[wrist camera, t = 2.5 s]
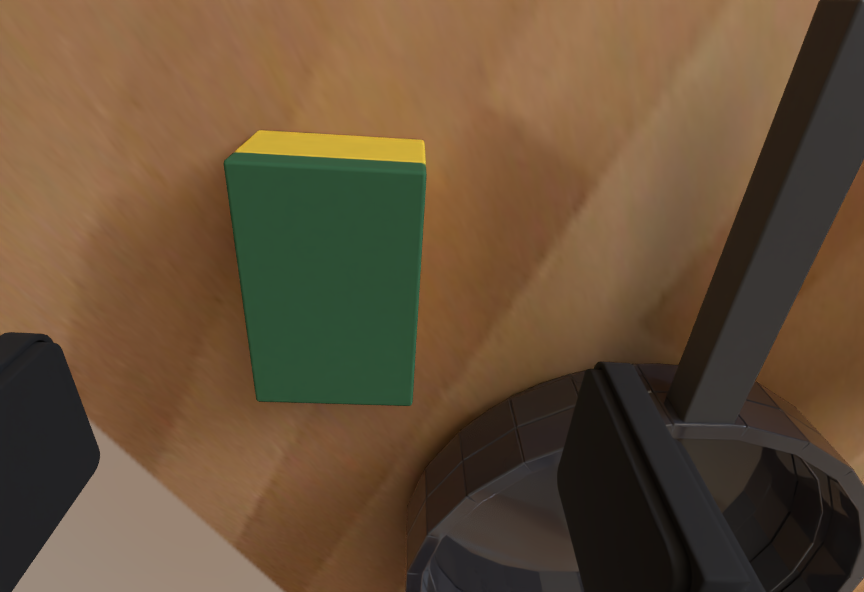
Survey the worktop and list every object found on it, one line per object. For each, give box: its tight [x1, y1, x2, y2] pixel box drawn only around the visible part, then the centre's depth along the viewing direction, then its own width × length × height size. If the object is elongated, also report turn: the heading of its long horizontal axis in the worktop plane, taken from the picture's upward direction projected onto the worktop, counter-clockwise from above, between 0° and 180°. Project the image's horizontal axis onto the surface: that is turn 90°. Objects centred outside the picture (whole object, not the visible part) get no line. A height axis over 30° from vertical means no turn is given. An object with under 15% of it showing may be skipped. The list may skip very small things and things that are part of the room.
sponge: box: [224, 130, 426, 406], centre depth 14 cm, size 4×7×3 cm, turn 176°
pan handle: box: [667, 0, 864, 424], centre depth 13 cm, size 2×11×1 cm, turn 177°
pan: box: [405, 363, 864, 592], centre depth 21 cm, size 17×17×4 cm
